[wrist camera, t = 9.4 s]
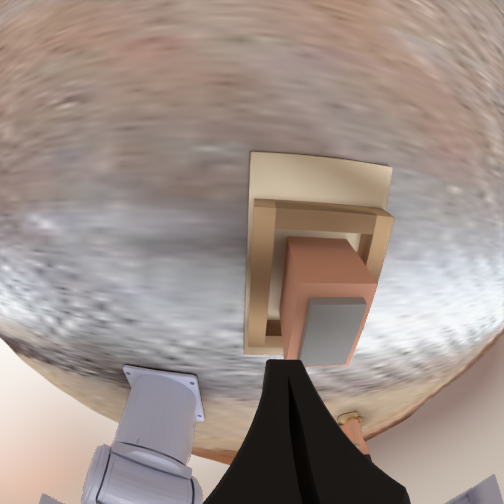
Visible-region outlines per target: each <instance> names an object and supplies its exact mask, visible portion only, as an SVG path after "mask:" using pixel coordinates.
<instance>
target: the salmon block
mask: <svg viewBox="0 0 504 504" xmlns="http://www.w3.org/2000/svg"><path fill="white" fill-rule="evenodd" d="M377 285H378V283H377V282H376V280H375V279H374V277H373V276H372V274H371V273H370V271H369V270H368V268H367V267H366V265H365V264H364V263H363V261H362V260H361V258H360V257H359V256H358V254H357V253H356V251H355V250H354V249H353V247H352V246H351V244H350V243H349V242H348V240H347V239H338V238H320V237H300V236H287V244H286V254H285V263H284V272H283V281H282V290H281V299H280V307H279V316H280V325H281V334H282V343H283V353H284V360H301V361H302V362H303V365H304V367H328V366H344V365H349V363H350V361H351V358H352V356H353V353H354V351H355V348H356V346H357V343H358V341H359V338H360V335H361V333H362V330H363V327H364V324H365V322H366V319H367V316H368V313H369V310H370V307H371V304H372V301H373V298H374V295H375V292H376V288H377Z"/></svg>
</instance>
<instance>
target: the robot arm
mask: <svg viewBox="0 0 504 504" xmlns="http://www.w3.org/2000/svg"><path fill="white" fill-rule="evenodd" d="M123 370H124V373H125V375H126V377H127V379H128V382H129V384H130V386H131V388H132V389H131V391H130V394H129V397H128V400H127V402H126V405H125V408H124V411H123V414H122V416H121V419H120V422H119V425H118V428H117V431H116V434H115V437H114V440H113V443H112V445H111V446H110V447H109V446H108V445H106V444H103V445H102V446H98V447H97V448H96V450H95V453H94V455H93V458H92V460H91V463H90V466H89V469H88V473H87V476H86V479H85V483H84V487H83V494H82V498H81V504H411V503H410V499H409V496H408V493H407V491H406V488H405V487H404V486H402V485H401V484H400V483H398V482H397V481H395V480H394V479H392V478H391V477H389V476H388V475H387V474H386V473H384V472H383V471H382V470H381V469H379V468H378V467H377V466H376V465H375V464H374V463H373V462H371V461H370V460H369V459H368V458H367V457H366V456H365V455H364V454H363V453H362V452H361V451H360V450H359V449H358V448H357V447H356V446H355V445H354V444H353V442H352V441H351V440H350V439H349V438H348V437H347V435H346V434H345V433H344V432H343V430H342V429H341V428H340V427H339V425H338V424H337V423H336V421H335V420H334V418H333V417H332V415H331V414H330V412H329V411H328V409H327V408H326V406H325V405H324V403H323V401H322V400H321V398H320V396H319V395H318V393H317V391H316V389H315V387H314V385H313V384H312V382H311V380H310V378H309V376H308V374H307V371H306V369H305V367H304V365H303V362H302V361H301V360H283V359H269V360H267V361H266V367H265V374H264V381H263V389H262V395H261V399H260V402H259V406H258V408H257V411H256V414H255V416H254V419H253V422H252V424H251V427H250V429H249V431H248V433H247V435H246V438H245V440H244V442H243V444H242V446H241V447H240V449H239V451H238V453H237V455H236V457H235V458H234V460H233V462H232V463H231V465H230V467H229V468H228V470H227V471H226V473H225V474H224V476H223V477H222V479H221V480H220V482H219V483H218V485H217V486H216V488H215V489H214V490H213V491H212V493H211V494H210V495H209V496H208V498H207V499H206V500H205V501H204V502H203V493H202V489H201V486H200V485H199V482H198V480H197V479H196V478H195V477H193V476H191V474H192V468H189V467H187V466H186V465H187V463H188V462H189V460H190V457H191V451H192V444H193V438H194V432H195V425H196V421H204V420H205V416H204V411H203V406H202V401H201V396H200V391H199V386H198V380H197V377H196V376H194V375H190V374H181V373H173V372H165V371H158V370H152V369H146V368H140V367H134V366H129V365H124V367H123ZM39 504H63V503H61V502H59V501H57V500H55V499H54V498H52V497H50V496H48V495H46V494H42V496H41V499H40V502H39ZM445 504H503V500H502V497H501V493H500V490H499V486H498V483H497V480H496V477H495V475H494V474H493V475H491V476H490V477H488V478H487V479H485V480H484V481H482V482H481V483H479V484H478V485H476V486H474V487H473V488H470V489H468V490H467V491H465V492H463V493H462V494H460V495H458V496H456V497H455V498H453V499H451V500H449V502H447V503H445Z"/></svg>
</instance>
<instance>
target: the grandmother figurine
mask: <svg viewBox="0 0 504 504" xmlns="http://www.w3.org/2000/svg"><path fill="white" fill-rule="evenodd" d="M338 421H339V422H340V423H342V424H343V426H341V427H340V428H341V429H342V430H343V432H344V433H345V434H346V435H347V437H348V438H349V439H350V440H351V441H352V442H353V444H354V445H355V446H356V447H357V448H358V449H359V450H360V451H361V452H362V453H363V454H364V455H365V456H366V457H367V458H368V459H369V460H370V461H371V462H372V460H371V457H370V455H369V452H368V449H367V446H366V443H365V441H364V440H363V439H362V427H361V422H362V417H358V412H352V413H347V414H343V415H341V416H339V417H338Z"/></svg>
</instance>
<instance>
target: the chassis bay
mask: <svg viewBox="0 0 504 504" xmlns="http://www.w3.org/2000/svg"><path fill="white" fill-rule="evenodd" d="M391 174H392V167H390V166H385V165H380V164H374V163H367V162H361V161H354V160H347V159H339V158H331V157H322V156H313V155H302V154H290V153H275V152H256V151H251V159H250V185H249V211H248V239H247V268H246V299H245V331H244V354H250V355H284V353H283V343H282V334H281V325H280V316H279V307H280V299H281V290H282V281H283V272H284V263H285V254H286V244H287V236H300V237H320V238H338V239H347V240H348V242H349V243H350V244H351V246H352V247H353V249H354V250H355V251H356V253H357V254H358V256H359V257H360V258H361V260H362V261H363V263H364V264H365V265H366V267H367V268H368V270H369V271H370V273H371V274H372V276H373V277H374V279H375V280H376V282H377V283H378V280H379V276H380V273H381V269H382V265H383V262H384V258H385V254H386V250H387V246H388V242H389V238H390V233H391V229H392V224H393V220H394V217H393V216H392V215H390V214H389V213H388V212H386V205H387V200H388V194H389V188H390V181H391Z"/></svg>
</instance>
